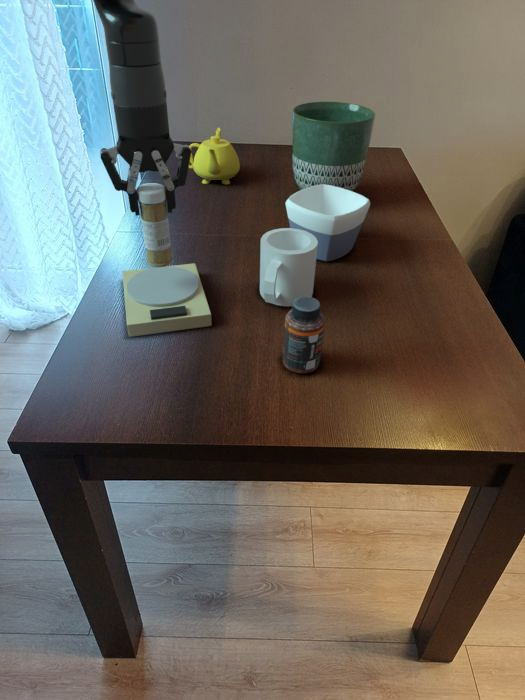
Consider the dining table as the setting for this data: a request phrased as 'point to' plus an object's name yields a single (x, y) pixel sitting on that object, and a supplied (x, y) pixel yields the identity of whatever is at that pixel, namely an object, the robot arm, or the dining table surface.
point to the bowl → (328, 217)
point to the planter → (330, 143)
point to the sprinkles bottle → (155, 224)
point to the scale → (164, 300)
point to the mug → (287, 265)
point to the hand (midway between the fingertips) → (153, 211)
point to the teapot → (215, 159)
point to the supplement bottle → (303, 335)
